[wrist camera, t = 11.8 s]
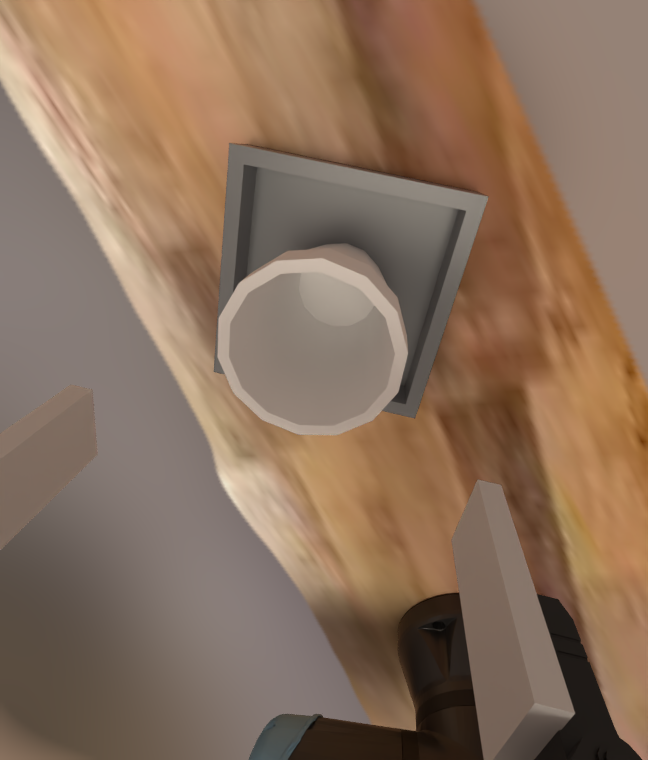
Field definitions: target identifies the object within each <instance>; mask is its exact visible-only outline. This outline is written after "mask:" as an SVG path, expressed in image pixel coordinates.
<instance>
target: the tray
mask: <svg viewBox="0 0 648 760" xmlns="http://www.w3.org/2000/svg"><path fill="white" fill-rule="evenodd" d="M487 200H488V196H486V195H484V194H481V193H479V192H476V191H471V190H466V189H461V188H457V187H452V186H447V185H442V184H437V183H432V182H428V181H423V180H418V179H413V178H408V177H403V176H399V175H394V174H389V173H384V172H379V171H374V170H370V169H365V168H360V167H355V166H350V165H345V164H341V163H336V162H331V161H326V160H321V159H316V158H312V157H307V156H302V155H297V154H292V153H287V152H282V151H278V150H273V149H268V148H263V147H258V146H253V145H248V144H235V143H229V158H228V172H227V187H226V201H225V216H224V230H223V245H222V259H221V274H220V288H219V303H218V317H217V332H216V346H215V361H214V372H217V373H221V374H225V373H224V371H223V369H222V366H221V364H220V362H219V359H218V357H217V355H218V323H219V316H220V315H221V313H222V311H223V310H224V308H225V306H226V304H227V303H228V301H229V299H230V298H231V296H232V294H233V292H234V291H235V289H236V287H237V285H238V284H239V283H240V282H241V281H242V280H243V279H244V278H246V277H247V276H248V275H249V274H251V273H252V272H253V271H255V270H256V269H258V268H260V267H261V266H263V265H265V264H266V263H268V262H270V261H271V260H273V259H275V258H276V257H278V256H280V255H281V254H283V253H285V252H286V251H293V250H308V249H311V248H315V247H318V246H322V245H326V244H341V243H347V244H350V245H352V246H354V247H357V248H359V249H361V250H364V251H365V252H366V253H367V254H368V255H369V257H370V258H371V259H372V260H373V261H374V262H375V263H376V265H377V266H378V267H379V269H380V272H381V274H382V276H383V278H384V280H385V282H386V284H387V286H388V287H389V288H390V289H391V290H392V292H393V293H394V294H395V295H396V296H397V297H398V301H399V305H400V309H401V314H402V318H403V322H404V326H405V330H406V334H407V344H408V356H407V360H406V364H405V368H404V372H403V376H402V380H401V384H400V388H399V391H398V393H397V394H396V395H395V397H394V398H393V399H392V400H391V401H390V402H389V403H388V404H387V405H386V406H385V408H384V409H383V410H382V411H385V412H389V413H394V414H398V415H402V416H407V417H411V418H415V417H416V414H417V411H418V408H419V405H420V402H421V399H422V396H423V393H424V390H425V387H426V384H427V381H428V378H429V375H430V372H431V369H432V366H433V363H434V360H435V357H436V354H437V351H438V348H439V345H440V342H441V339H442V336H443V333H444V330H445V327H446V324H447V321H448V318H449V315H450V312H451V309H452V306H453V303H454V299H455V296H456V293H457V290H458V287H459V284H460V281H461V278H462V275H463V272H464V269H465V266H466V263H467V260H468V257H469V254H470V251H471V248H472V245H473V242H474V239H475V236H476V233H477V230H478V227H479V224H480V221H481V218H482V215H483V212H484V209H485V206H486V203H487Z"/></svg>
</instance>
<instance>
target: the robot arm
mask: <svg viewBox="0 0 648 760" xmlns="http://www.w3.org/2000/svg"><path fill="white" fill-rule="evenodd" d="M96 455H97V441H96V429H95V417H94V404H93V391H92V389H87V388H82V387H79V386H74V385H70V386H68V387H67V388H65V389H64V390H63V391H61V392H60V393H58V394H57V395H55V396H54V397H52V398H51V399H50V400H48V401H47V402H45V403H44V404H42V405H41V406H39V407H38V408H37V409H35V410H34V411H32V412H31V413H29V414H28V415H26V416H25V417H23V418H22V419H21V420H19V421H18V422H16V423H15V424H13V425H12V426H10V427H9V428H7V429H6V430H5V431H3V432H2V433H0V550H1V549H2V548H3V547H4V546H5V545H6V544H7V543H8V542H9V541H10V540H11V539H12V538H13V537H14V536H15V535H16V534H17V533H18V532H19V531H20V530H21V529H22V528H23V527H24V526H25V525H26V524H27V523H28V522H29V521H30V520H31V519H32V518H33V517H34V516H35V515H37V514H38V512H40V511H41V510H42V509H43V508H44V507H45V506H46V505H47V504H48V503H49V502H50V501H51V500H52V499H53V498H54V497H55V496H56V495H57V494H58V493H59V492H60V491H61V490H62V489H63V488H64V487H65V486H66V485H67V484H68V483H69V482H70V481H71V480H72V479H73V478H74V477H75V476H76V475H77V474H78V473H79V472H80V471H81V470H82V469H83V468H84V467H85V466H86V465H87V464H88V463H89V462H90V461H91V460H92V459H93V458H94V457H95V456H96ZM452 546H453V553H454V560H455V567H456V574H457V581H458V587H459V594H454V595H445V596H440V597H436V598H432V599H429V600H426V601H424V602H422V603H420V604H418V605H416V606H415V607H413V608H412V609H411V610H409V611H408V612H407V613H406V614H405V616H404V617H403V618H402V620H401V622H400V624H399V627H398V656H399V660H400V664H401V667H402V670H403V673H404V676H405V679H406V682H407V685H408V688H409V692H410V695H411V698H412V701H413V704H414V707H415V711H416V731H410V730H403V729H397V728H389V727H383V726H376V725H369V724H362V723H356V722H350V721H343V720H337V719H329V718H323V716H322V715H321V714H314V715H313V716H305V715H294V714H282V715H279V716H277V717H275V718H274V719H272V720H271V721H270V722H269V723H268V724H267V725H266V727H265V728H264V730H263V731H262V733H261V735H260V736H259V738H258V740H257V742H256V744H255V746H254V748H253V750H252V752H251V755H250V757H249V760H642V759H641V758H640V756H639V755H638V754H637V753H636V752H635V751H634V750H633V749H632V748H631V747H630V746H629V744H627V743H626V742H625V741H623V740H622V739H620V738H619V736H618V734H617V732H616V730H615V728H614V725H613V722H612V720H611V717H610V715H609V712H608V709H607V707H606V704H605V702H604V699H603V696H602V694H601V691H600V689H599V686H598V683H597V681H596V678H595V676H594V673H593V671H592V668H591V665H590V663H589V662H588V661H587V655H586V652H585V650H584V647H583V645H582V644H581V639H580V637H579V634H578V632H577V629H576V626H575V624H574V621H573V619H572V618H571V616H570V615H569V614H568V612H567V611H566V610H565V608H564V607H563V606H562V604H561V603H560V601H559V600H558V599H555V598H551V597H546V596H542V595H538V594H536V591H535V588H534V585H533V582H532V579H531V575H530V572H529V569H528V566H527V563H526V560H525V557H524V554H523V551H522V548H521V545H520V542H519V538H518V535H517V532H516V529H515V526H514V523H513V520H512V517H511V514H510V511H509V508H508V504H507V501H506V498H505V495H504V492H503V489H502V486H501V485H499V484H495V483H491V482H486V481H482V480H477V482H476V484H475V487H474V489H473V491H472V494H471V496H470V498H469V500H468V503H467V505H466V507H465V510H464V512H463V514H462V517H461V519H460V521H459V523H458V526H457V528H456V530H455V533H454V535H453V537H452Z"/></svg>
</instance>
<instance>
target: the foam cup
mask: <svg viewBox="0 0 648 760" xmlns="http://www.w3.org/2000/svg"><path fill="white" fill-rule="evenodd" d="M407 356H408V344H407V334H406V330H405V326H404V322H403V318H402V314H401V309H400V305H399V301H398V297H397V296H396V295H395V294H394V293H393V292H392V290H391V289H390V288H389V287H388V286H387V284H386V282H385V280H384V278H383V276H382V274H381V272H380V269H379V267H378V266H377V265H376V263H375V262H374V261H373V260H372V259H371V258H370V257H369V255H368V254H367V253H366V252H365V251H364V250H361V249H359V248H357V247H354V246H352V245H350V244H347V243H341V244H326V245H322V246H318V247H315V248H311V249H308V250H293V251H286V252H285V253H283V254H281V255H280V256H278V257H276V258H275V259H273V260H271V261H270V262H268V263H266V264H265V265H263V266H261V267H260V268H258V269H256V270H255V271H253V272H252V273H251V274H249V275H248V276H247V277H246V278H244V279H243V280H242V281H241V282H240V283H239V284H238V285H237V287H236V289H235V291H234V292H233V294H232V296H231V298H230V299H229V301H228V303H227V304H226V306H225V308H224V310H223V311H222V313H221V315H220V316H219V323H218V355H217V357H218V359H219V362H220V364H221V366H222V369H223V371H224V373H225V375H226V378H227V380H228V382H229V384H230V387H231V389H232V391H233V393H234V394H235V395H236V396H237V397H238V398H239V399H240V400H241V401H242V402H243V403H244V404H246V405H247V406H248V407H249V408H250V409H251V410H252V411H253V412H254V413H255V414H256V415H257V416H258V417H259V418H260V419H261V420H263V421H266V422H268V423H271V424H273V425H276V426H278V427H281V428H283V429H286V430H288V431H290V432H293V433H295V434H298V435H339V434H341V433H344V432H346V431H349V430H351V429H354V428H356V427H358V426H361V425H363V424H366V423H368V422H371V421H373V420H374V419H375V417H376V416H377V415H378V414H379V413H380V412H381V411H382V410H383V409H384V408H385V406H386V405H387V404H388V403H389V402H390V401H391V400H392V399H393V398H394V397H395V395H396V394H397V393H398V391H399V388H400V384H401V380H402V376H403V372H404V368H405V364H406V360H407Z"/></svg>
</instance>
